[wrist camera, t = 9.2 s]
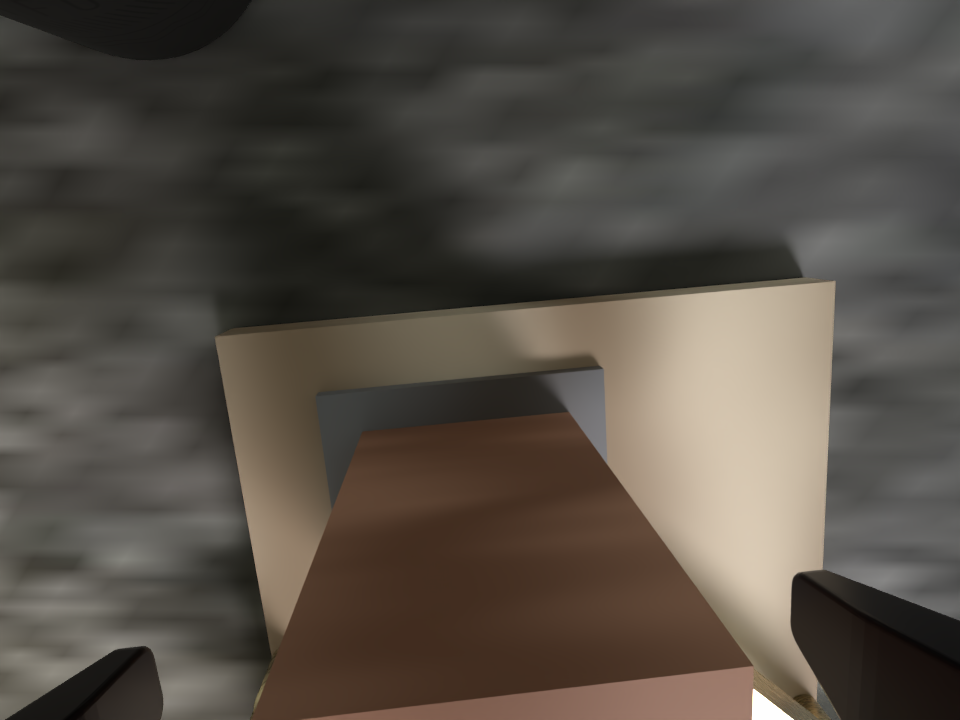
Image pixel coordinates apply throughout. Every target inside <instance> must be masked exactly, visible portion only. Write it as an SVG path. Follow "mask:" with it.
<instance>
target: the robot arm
mask: <svg viewBox="0 0 960 720" xmlns="http://www.w3.org/2000/svg"><path fill="white" fill-rule="evenodd" d="M790 625H791V631H792V634H793V637H794V640H795V642H796V644H797V646H798V647H799V649H800V651H801V652H802V654H803V656H804V658H805V659H806V661H807V663H808V665H809V666H810V668H811V670H812V671H813V673H814V675H815V677H816V678H817V680H818V682H819V684H820V685H821V687H822V689H823V690H824V692H825V694H826V696H827V697H828V699H829V701H830V703H831V704H832V706H833V708H834V710H835V711H836V713H837V715H838V716H839V718H840V720H960V621H959V620H956V619H954V618H951V617H948V616H946V615H943V614H941V613H938V612H935V611H933V610H930V609H927V608H925V607H922V606H919V605H917V604H914V603H911V602H909V601H906V600H904V599H901V598H898V597H896V596H893V595H890V594H888V593H885V592H882V591H880V590H877V589H875V588H872V587H869V586H867V585H864V584H861V583H859V582H856V581H853V580H851V579H848V578H845V577H843V576H840V575H838V574H835V573H832V572H830V571H827V570H813V571H804V572H798V573H797V574H795V575H794V577H793V579H792V587H791V616H790ZM162 711H163V694H162V690H161V685H160V681H159V677H158V672H157V668H156V663H155V659H154V655H153V652H152V651H151V649H149V648H148V647H146V646H140V647H131V648H122V649H117V650H114V651H113V652H111V653H109V654H108V655H106V656H105V657H103V658H102V659H100V660H98V661H97V662H95V663H94V664H92V665H90V666H89V667H87V668H86V669H84V670H83V671H81V672H79V673H78V674H76V675H75V676H73V677H72V678H70V679H68V680H67V681H65V682H64V683H62V684H61V685H59V686H57V687H56V688H54V689H53V690H51V691H50V692H48V693H46V694H45V695H43V696H42V697H40V698H39V699H37V700H35V701H34V702H32V703H31V704H29V705H27V706H26V707H24V708H23V709H21V710H20V711H18V712H16V713H15V714H13V715H12V716H10V717H9V718H7V719H5V720H160V719H161V716H162Z"/></svg>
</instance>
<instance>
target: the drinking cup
mask: <svg viewBox="0 0 960 720" xmlns="http://www.w3.org/2000/svg"><path fill="white" fill-rule="evenodd" d="M250 2H251V0H0V15H1V16H4V17H7V18H9V19H12V20H15V21H18V22H20V23H23V24H26V25H29V26H31V27H34V28H37V29H40V30H42V31H45V32H48V33H51V34H53V35H56V36H59V37H62V38H64V39H67V40H70V41H73V42H75V43H78V44H81V45H83V46H86V47H89V48H92V49H94V50H97V51H100V52H104V53H107V54H110V55H114V56H118V57H122V58H129V59H136V60H158V59H167V58H173V57H177V56H181V55H184V54H188V53H190V52H193V51H195V50H198V49H200V48H202V47H204V46H205V45H207V44H209V43H211V42H212V41H214V40H215V39H217V38H218V37H220V36H221V35H222V34H223V33H224V32H226V31H227V30H228V29H229V28H230V27H231V26H232V25H233V24H234V23H235V22H236V21H237V20H238V19H239V17H240V16H241V15H242V14H243V12H244V11H245V10H246V8H247V7H248V5H249V3H250Z"/></svg>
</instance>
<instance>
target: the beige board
mask: <svg viewBox="0 0 960 720" xmlns="http://www.w3.org/2000/svg"><path fill="white" fill-rule="evenodd" d="M835 282H836V281H830V280H822V279H814V278H794V279H782V280H771V281H760V282H749V283H737V284H726V285H715V286H704V287H692V288H681V289H670V290H659V291H647V292H636V293H625V294H614V295H602V296H591V297H580V298H569V299H557V300H546V301H535V302H524V303H512V304H501V305H490V306H479V307H467V308H456V309H445V310H434V311H422V312H411V313H400V314H389V315H377V316H366V317H355V318H344V319H332V320H321V321H310V322H299V323H287V324H276V325H265V326H254V327H242V328H232V329H230V330H228V331H226V332H224V333H222V334H219V335H217V336H215V341H216V347H217V352H218V358H219V364H220V369H221V375H222V381H223V386H224V392H225V397H226V403H227V409H228V414H229V420H230V426H231V431H232V437H233V443H234V448H235V454H236V459H237V465H238V471H239V476H240V482H241V488H242V493H243V499H244V504H245V510H246V516H247V521H248V527H249V533H250V538H251V544H252V550H253V555H254V561H255V566H256V572H257V578H258V583H259V589H260V595H261V600H262V606H263V611H264V617H265V623H266V628H267V634H268V640H269V645H270V651H271V656H272V657H273V654H274V652H275V651H276V650H277V649H278V648H279V647H280V644H281V642H282V639H283V636H284V634H285V631H286V629H287V626H288V624H289V621H290V618H291V616H292V613H293V611H294V608H295V605H296V603H297V600H298V598H299V595H300V592H301V590H302V587H303V585H304V582H305V579H306V577H307V574H308V572H309V569H310V566H311V564H312V561H313V559H314V556H315V553H316V551H317V548H318V546H319V543H320V540H321V538H322V535H323V533H324V530H325V527H326V525H327V522H328V520H329V517H330V514H331V512H332V509H333V507H334V504H335V501H336V499H337V496H338V494H339V491H340V488H341V486H342V483H343V481H344V478H345V475H346V473H347V470H348V468H349V465H350V462H351V460H352V457H353V455H354V452H355V449H356V447H357V444H358V442H359V439H360V436H361V434H362V432H363V431H374V430H384V429H395V428H405V427H416V426H426V425H437V424H447V423H458V422H468V421H479V420H489V419H500V418H510V417H521V416H531V415H542V414H552V413H563V412H570V414H571V415H572V417H573V418H574V419H575V421H576V422H577V423H578V425H579V426H580V428H581V429H582V430H583V432H584V433H585V434H586V436H587V437H588V439H589V440H590V441H591V443H592V444H593V445H594V447H595V448H596V450H597V451H598V452H599V454H600V455H601V456H602V458H603V459H604V461H605V462H606V463H607V465H608V466H609V467H610V469H611V470H612V472H613V473H614V474H615V476H616V477H617V478H618V480H619V481H620V483H621V484H622V485H623V487H624V488H625V490H626V491H627V492H628V494H629V495H630V496H631V498H632V499H633V501H634V502H635V503H636V505H637V506H638V507H639V509H640V510H641V512H642V513H643V514H644V516H645V517H646V518H647V520H648V521H649V523H650V524H651V525H652V527H653V528H654V529H655V531H656V532H657V534H658V535H659V536H660V538H661V539H662V540H663V542H664V543H665V545H666V546H667V547H668V549H669V550H670V551H671V553H672V554H673V556H674V557H675V558H676V560H677V561H678V562H679V564H680V565H681V567H682V568H683V569H684V571H685V572H686V573H687V575H688V576H689V578H690V579H691V580H692V582H693V583H694V584H695V586H696V587H697V589H698V590H699V591H700V593H701V594H702V595H703V597H704V598H705V600H706V601H707V602H708V604H709V605H710V607H711V608H712V609H713V611H714V612H715V613H716V615H717V616H718V618H719V619H720V620H721V622H722V623H723V624H724V626H725V627H726V629H727V630H728V631H729V633H730V634H731V635H732V637H733V638H734V640H735V641H736V642H737V644H738V645H739V646H740V648H741V649H742V651H743V652H744V653H745V655H746V656H747V657H748V659H749V660H750V662H751V663H752V664H753V666H754V669H755V670H757V671H758V672H759V673H760V674H762V675H763V676H764V677H766V678H767V679H768V680H769V681H771V682H772V683H773V684H775V685H776V686H777V687H778V688H780V689H781V690H782V691H783V692H785V693H786V694H787V695H789V696H790V697H791V698H794V697H795V696H797V695H800V694H808V695H811V696H812V697H813V698H814V699H815V700H816V701H817V678H816V677H815V675H814V673H813V671H812V670H811V668H810V666H809V665H808V663H807V661H806V659H805V658H804V656H803V654H802V652H801V651H800V649H799V647H798V646H797V644H796V642H795V640H794V637H793V634H792V631H791V625H790V616H791V587H792V579H793V577H794V575H795V574H797V573H798V572H804V571H813V570H822V568H823V546H824V524H825V502H826V480H827V458H828V436H829V414H830V392H831V370H832V348H833V326H834V304H835Z"/></svg>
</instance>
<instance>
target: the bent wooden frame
mask: <svg viewBox="0 0 960 720" xmlns="http://www.w3.org/2000/svg"><path fill="white" fill-rule="evenodd" d="M278 649H279V648H278ZM278 649H277V650H276V651H275V652H274V654H273V657H272V659H271V662H270V664H269V667H268V669H267V672H266V675H265V677H264V680H263V682H262V685H261V687H260V690H259V692H258V695H257V697H256V700H255V703H254V711H253V713H252V716H251V718H250V720H252V717H253V714H254V712H255V709H256V707H257V704H258V701H259V699H260V696H261V694H262V691H263V688H264V686H265V683H266V681H267V678H268V675H269V673H270V670H271V668H272V665H273V662H274V660H275V657H276V655H277V652H278ZM753 720H831V719H830V718H829V716H828V715H827V714H826V713H825V711H824V710H823V709H822V708H821V706H820V705H819V704H818V703H817V701H816V700H815V699H814V698H813V697H812V696H811V695H808V694H800V695H797V696H795V697H794V698H791V697H790V696H789V695H787V694H786V693H785V692H783V691H782V690H781V689H780V688H778V687H777V686H776V685H775V684H773V683H772V682H771V681H769V680H768V679H767V678H766V677H764V676H763V675H762V674H760V673H759V672H758V671H757V670H755V669H754V679H753Z"/></svg>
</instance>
